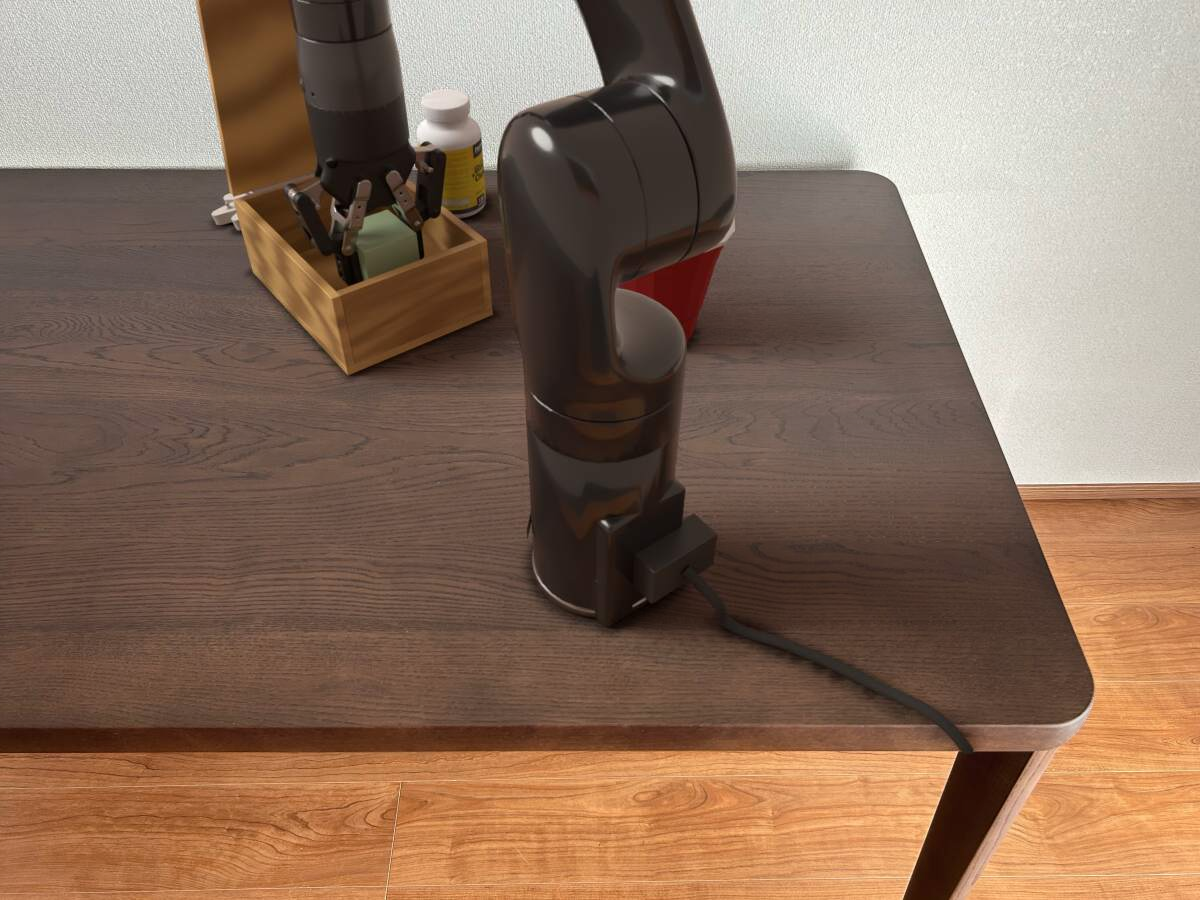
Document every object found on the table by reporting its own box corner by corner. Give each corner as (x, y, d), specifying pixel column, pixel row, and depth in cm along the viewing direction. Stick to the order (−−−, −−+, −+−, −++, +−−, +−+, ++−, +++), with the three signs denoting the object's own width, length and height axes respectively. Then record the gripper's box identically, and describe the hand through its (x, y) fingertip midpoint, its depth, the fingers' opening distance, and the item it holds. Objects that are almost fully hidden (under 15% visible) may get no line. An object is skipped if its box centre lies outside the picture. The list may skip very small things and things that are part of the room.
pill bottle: (476, 224, 100) (467, 116, 92) (416, 217, 101) (402, 109, 93) (494, 194, 104) (486, 88, 96) (436, 187, 105) (424, 82, 97)
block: (423, 282, 86) (416, 233, 82) (372, 302, 83) (363, 252, 80) (395, 258, 89) (387, 209, 85) (345, 276, 86) (335, 226, 83)
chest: (493, 314, 88) (487, 240, 83) (348, 375, 82) (331, 298, 76) (387, 225, 100) (376, 154, 94) (252, 272, 93) (232, 199, 88)
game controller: (205, 217, 100) (198, 194, 98) (302, 181, 106) (298, 159, 104) (232, 238, 97) (225, 215, 96) (331, 200, 103) (326, 177, 101)
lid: (374, -56, 77) (369, -61, 77) (195, -20, 70) (190, -26, 71) (378, 152, 94) (374, 147, 94) (233, 197, 87) (229, 192, 87)
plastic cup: (746, 346, 86) (764, 226, 77) (641, 383, 82) (648, 261, 73) (679, 285, 92) (689, 168, 84) (579, 317, 88) (579, 198, 80)
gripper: (286, 128, 69) (329, 324, 80) (459, 79, 75) (475, 266, 87) (243, 92, 73) (290, 283, 85) (410, 48, 79) (432, 231, 91)
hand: (384, 273), depth 86 cm, fingers closed on block, 5 cm apart
